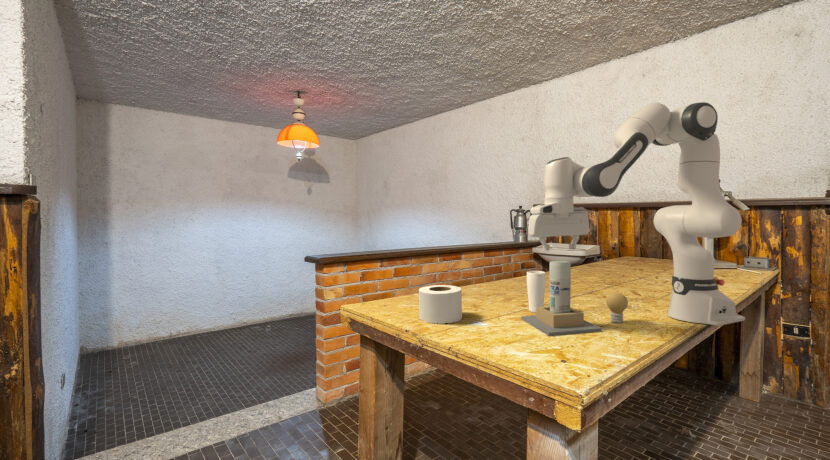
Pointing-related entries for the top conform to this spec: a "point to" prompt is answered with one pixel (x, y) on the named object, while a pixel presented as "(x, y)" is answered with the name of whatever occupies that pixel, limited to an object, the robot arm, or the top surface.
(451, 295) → the toilet paper roll
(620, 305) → the light bulb
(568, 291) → the spray paint can
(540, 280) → the drinking glass
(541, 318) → the socket
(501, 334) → the top surface
